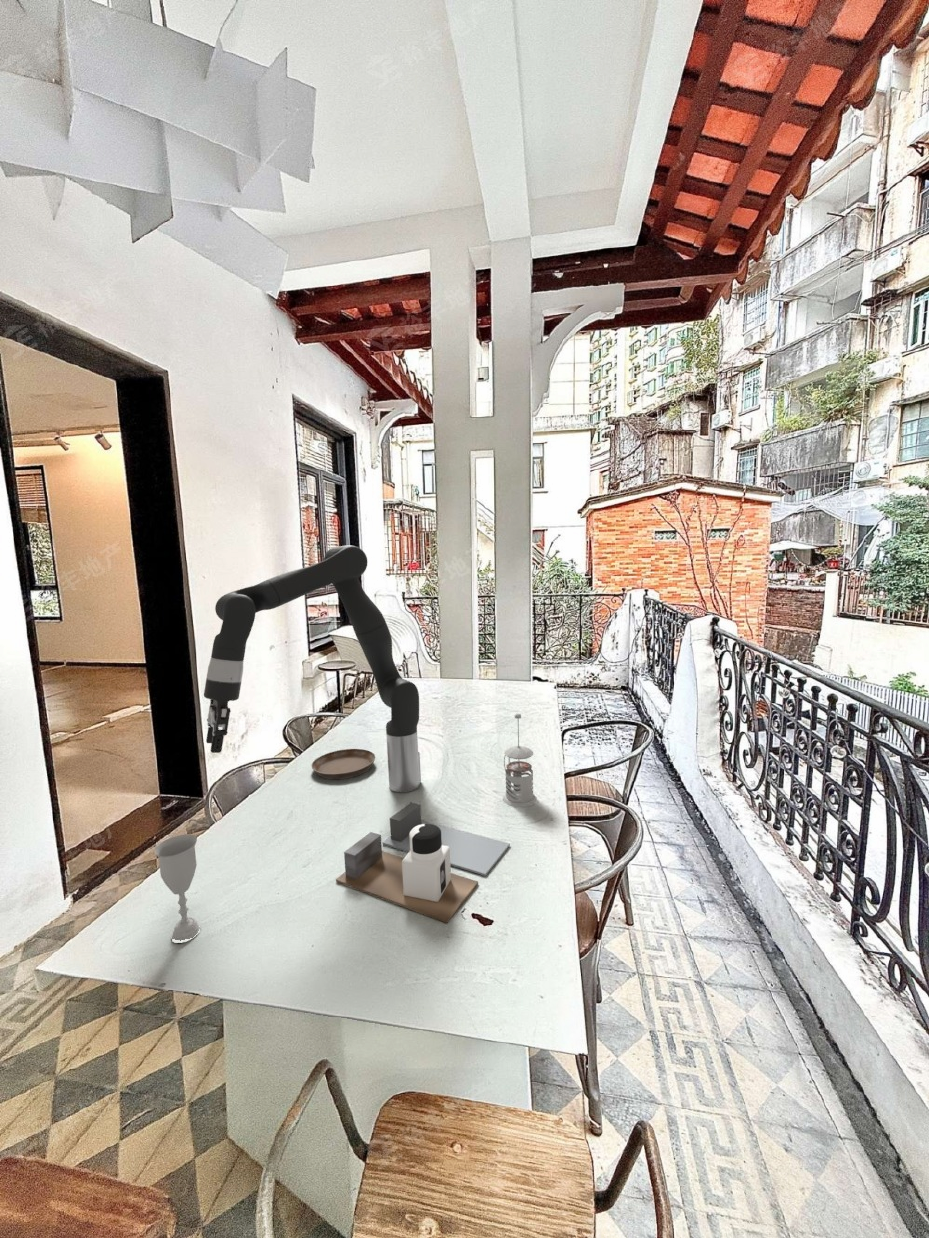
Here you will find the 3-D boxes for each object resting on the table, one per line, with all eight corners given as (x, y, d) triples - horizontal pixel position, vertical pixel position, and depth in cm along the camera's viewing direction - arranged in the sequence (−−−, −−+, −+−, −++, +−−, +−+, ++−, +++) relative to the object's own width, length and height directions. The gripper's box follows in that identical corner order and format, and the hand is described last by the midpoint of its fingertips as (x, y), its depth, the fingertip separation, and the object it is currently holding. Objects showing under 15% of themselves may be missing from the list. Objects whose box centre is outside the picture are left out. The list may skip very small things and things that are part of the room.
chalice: (176, 921, 100) (166, 835, 98) (212, 918, 101) (203, 832, 99) (157, 950, 93) (146, 858, 91) (196, 946, 94) (186, 855, 91)
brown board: (374, 850, 122) (372, 826, 121) (478, 883, 109) (477, 857, 108) (335, 881, 111) (334, 855, 110) (446, 922, 97) (445, 893, 97)
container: (451, 879, 110) (449, 822, 108) (438, 903, 102) (435, 842, 101) (418, 873, 112) (415, 817, 110) (403, 895, 105) (399, 836, 103)
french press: (514, 810, 139) (512, 721, 136) (492, 793, 150) (490, 710, 146) (544, 801, 144) (542, 715, 141) (521, 785, 154) (519, 704, 151)
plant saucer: (298, 778, 165) (297, 768, 165) (337, 754, 184) (336, 745, 184) (352, 787, 157) (351, 777, 157) (387, 761, 176) (386, 752, 176)
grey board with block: (413, 819, 136) (412, 797, 135) (509, 845, 122) (509, 821, 122) (382, 844, 125) (381, 821, 124) (485, 875, 111) (484, 850, 110)
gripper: (246, 684, 116) (235, 755, 115) (236, 675, 128) (226, 740, 127) (210, 681, 112) (198, 756, 111) (203, 672, 124) (192, 739, 123)
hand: (213, 747), depth 119 cm, fingers open, 8 cm apart
